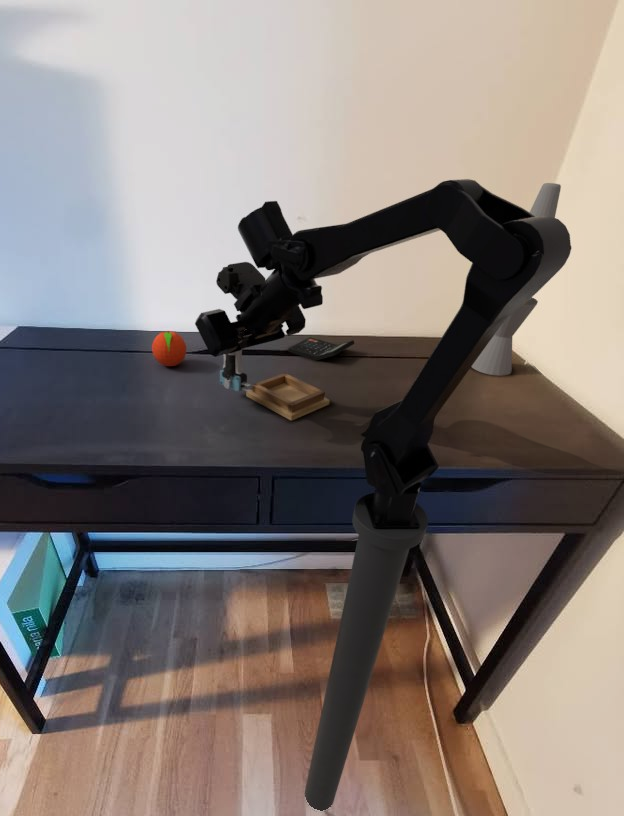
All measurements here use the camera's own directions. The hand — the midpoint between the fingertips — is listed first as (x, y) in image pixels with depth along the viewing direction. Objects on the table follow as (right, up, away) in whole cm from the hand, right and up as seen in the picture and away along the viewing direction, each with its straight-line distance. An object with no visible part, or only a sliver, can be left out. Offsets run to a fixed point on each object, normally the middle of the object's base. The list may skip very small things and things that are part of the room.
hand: (230, 349), depth 83 cm
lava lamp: (+56, +3, +26) cm, 62 cm away
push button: (+1, -6, +3) cm, 7 cm away
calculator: (+19, +7, +29) cm, 35 cm away
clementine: (-14, +1, +19) cm, 24 cm away
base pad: (+10, -7, +9) cm, 15 cm away
